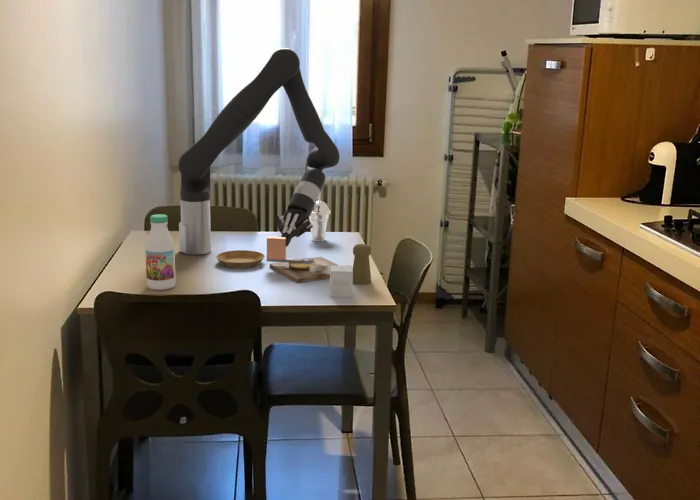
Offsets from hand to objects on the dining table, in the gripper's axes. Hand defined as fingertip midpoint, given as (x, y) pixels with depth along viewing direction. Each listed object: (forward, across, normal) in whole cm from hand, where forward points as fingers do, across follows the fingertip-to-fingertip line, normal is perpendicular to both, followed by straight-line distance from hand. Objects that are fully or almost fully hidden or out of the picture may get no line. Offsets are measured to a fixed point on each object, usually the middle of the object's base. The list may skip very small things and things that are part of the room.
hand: (282, 245), depth 230 cm
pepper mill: (+4, +26, +6) cm, 27 cm away
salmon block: (+4, +3, +3) cm, 6 cm away
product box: (+13, +27, -3) cm, 30 cm away
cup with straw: (-21, -10, +32) cm, 40 cm away
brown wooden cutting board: (+3, +8, +7) cm, 11 cm away
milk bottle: (+29, -18, -18) cm, 39 cm away
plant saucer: (+7, -14, +4) cm, 16 cm away
